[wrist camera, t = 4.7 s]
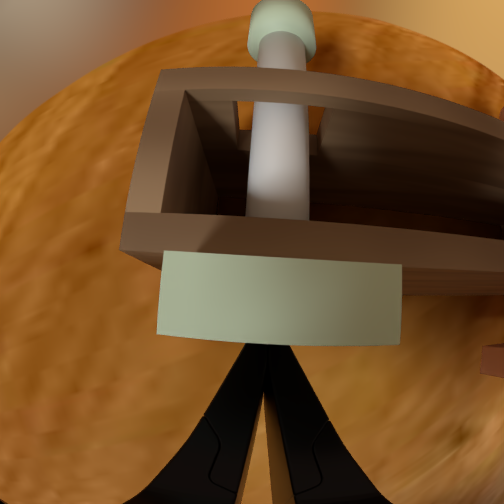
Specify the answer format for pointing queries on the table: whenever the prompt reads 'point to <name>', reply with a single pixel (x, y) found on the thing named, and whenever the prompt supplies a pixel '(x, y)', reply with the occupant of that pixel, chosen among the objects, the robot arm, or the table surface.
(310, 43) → the sage button
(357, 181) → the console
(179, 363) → the table surface
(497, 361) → the pink block with rod
